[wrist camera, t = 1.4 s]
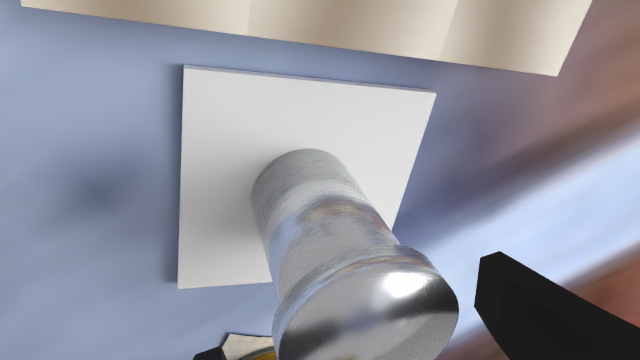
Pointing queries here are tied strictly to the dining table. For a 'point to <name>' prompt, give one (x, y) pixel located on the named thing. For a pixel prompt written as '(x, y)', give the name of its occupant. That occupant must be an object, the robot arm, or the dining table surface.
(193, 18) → the hole plate
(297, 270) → the knob
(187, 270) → the tab
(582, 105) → the dining table surface
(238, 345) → the condiment
